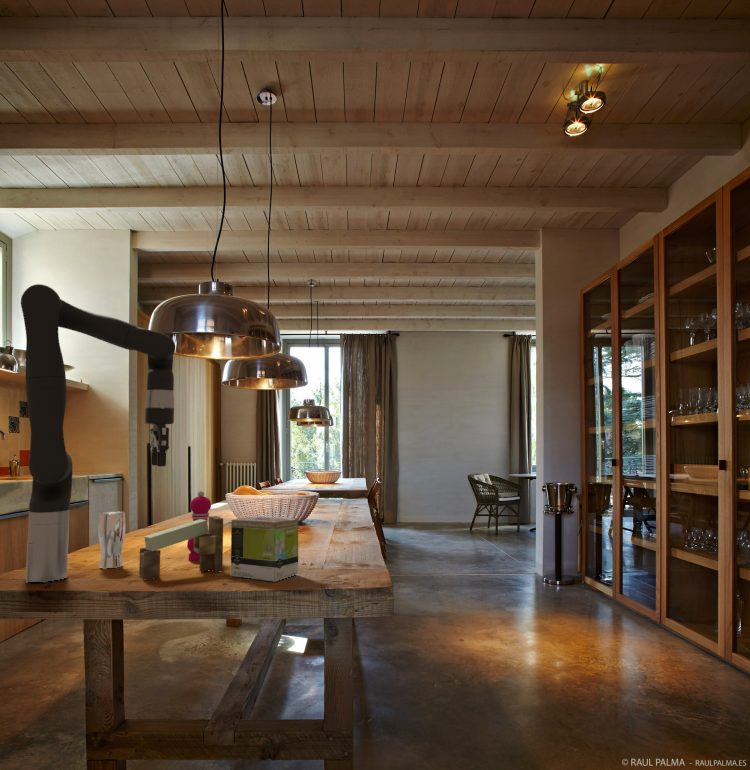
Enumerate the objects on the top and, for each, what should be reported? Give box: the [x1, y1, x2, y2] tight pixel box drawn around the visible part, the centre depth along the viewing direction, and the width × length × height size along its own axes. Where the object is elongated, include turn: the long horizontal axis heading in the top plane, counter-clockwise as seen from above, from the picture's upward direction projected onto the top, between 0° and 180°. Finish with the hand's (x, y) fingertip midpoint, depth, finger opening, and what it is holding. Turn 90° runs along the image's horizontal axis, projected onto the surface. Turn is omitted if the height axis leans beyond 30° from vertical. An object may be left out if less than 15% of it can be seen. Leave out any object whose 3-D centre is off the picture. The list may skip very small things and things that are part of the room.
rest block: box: [138, 547, 162, 581], centre depth 158 cm, size 4×7×7 cm, turn 30°
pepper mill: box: [186, 490, 212, 562], centre depth 182 cm, size 7×7×20 cm
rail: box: [143, 519, 209, 551], centre depth 162 cm, size 16×4×4 cm, turn 134°
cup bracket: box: [194, 515, 224, 573], centre depth 166 cm, size 6×7×14 cm
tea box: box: [230, 515, 299, 583], centre depth 159 cm, size 15×10×15 cm
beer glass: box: [97, 510, 127, 570], centre depth 171 cm, size 7×7×15 cm
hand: (158, 465), depth 169 cm, fingers open, 8 cm apart
